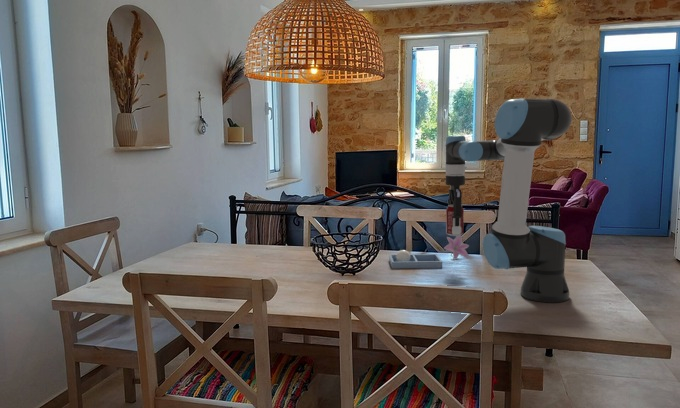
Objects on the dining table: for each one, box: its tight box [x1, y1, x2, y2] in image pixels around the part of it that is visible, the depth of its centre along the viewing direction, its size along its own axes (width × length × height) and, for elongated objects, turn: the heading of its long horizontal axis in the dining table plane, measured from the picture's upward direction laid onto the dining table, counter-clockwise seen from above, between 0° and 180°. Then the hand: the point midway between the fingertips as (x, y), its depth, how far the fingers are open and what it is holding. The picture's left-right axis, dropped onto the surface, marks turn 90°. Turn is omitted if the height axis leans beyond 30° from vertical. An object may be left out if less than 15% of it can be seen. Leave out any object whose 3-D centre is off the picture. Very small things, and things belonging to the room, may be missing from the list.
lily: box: [443, 235, 470, 260], centre depth 233 cm, size 12×12×10 cm
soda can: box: [445, 204, 465, 237], centre depth 209 cm, size 7×7×12 cm
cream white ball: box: [395, 249, 411, 262], centre depth 220 cm, size 6×6×6 cm
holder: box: [388, 253, 443, 269], centre depth 220 cm, size 14×20×3 cm, turn 89°
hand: (454, 232), depth 210 cm, fingers closed on soda can, 7 cm apart
